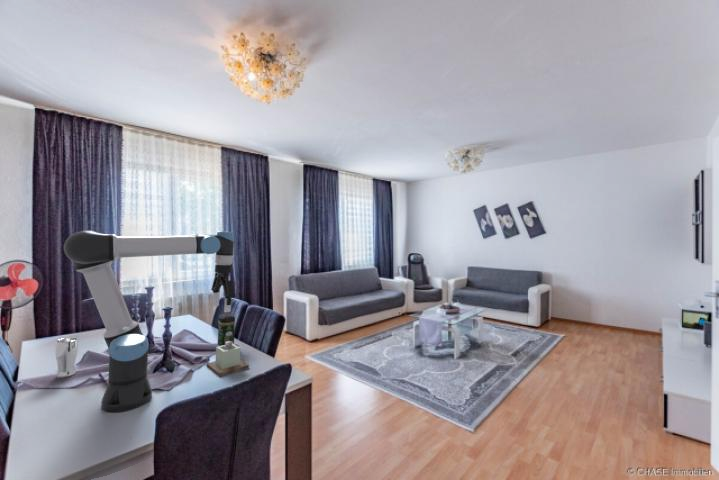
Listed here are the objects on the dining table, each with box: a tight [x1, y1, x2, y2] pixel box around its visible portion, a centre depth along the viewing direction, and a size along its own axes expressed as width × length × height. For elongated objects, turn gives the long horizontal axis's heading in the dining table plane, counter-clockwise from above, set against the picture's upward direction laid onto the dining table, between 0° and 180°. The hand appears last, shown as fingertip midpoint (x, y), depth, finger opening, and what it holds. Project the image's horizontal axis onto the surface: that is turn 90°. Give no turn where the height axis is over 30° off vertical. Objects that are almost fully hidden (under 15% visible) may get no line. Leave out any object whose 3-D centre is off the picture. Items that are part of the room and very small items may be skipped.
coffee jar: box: [217, 312, 236, 346], centre depth 174 cm, size 10×8×19 cm
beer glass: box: [55, 336, 79, 379], centre depth 135 cm, size 7×7×15 cm
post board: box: [206, 341, 250, 378], centre depth 150 cm, size 14×14×12 cm
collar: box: [215, 343, 241, 369], centre depth 150 cm, size 8×8×8 cm
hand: (221, 309), depth 149 cm, fingers open, 13 cm apart
